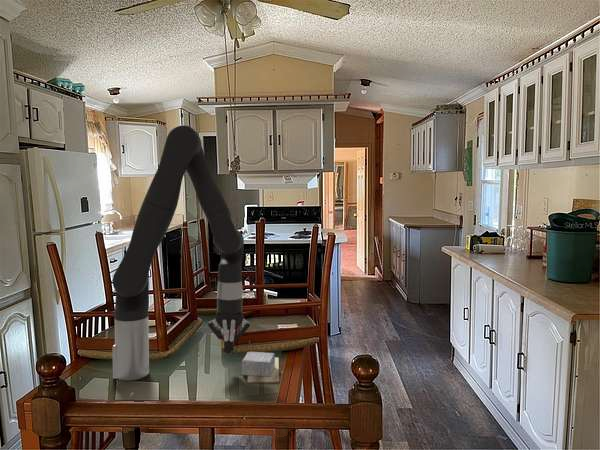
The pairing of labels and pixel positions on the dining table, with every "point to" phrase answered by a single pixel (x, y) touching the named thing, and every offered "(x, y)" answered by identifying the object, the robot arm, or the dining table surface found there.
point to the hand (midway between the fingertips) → (229, 352)
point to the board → (272, 378)
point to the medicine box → (258, 364)
